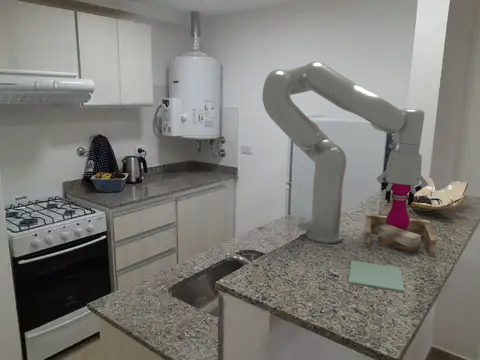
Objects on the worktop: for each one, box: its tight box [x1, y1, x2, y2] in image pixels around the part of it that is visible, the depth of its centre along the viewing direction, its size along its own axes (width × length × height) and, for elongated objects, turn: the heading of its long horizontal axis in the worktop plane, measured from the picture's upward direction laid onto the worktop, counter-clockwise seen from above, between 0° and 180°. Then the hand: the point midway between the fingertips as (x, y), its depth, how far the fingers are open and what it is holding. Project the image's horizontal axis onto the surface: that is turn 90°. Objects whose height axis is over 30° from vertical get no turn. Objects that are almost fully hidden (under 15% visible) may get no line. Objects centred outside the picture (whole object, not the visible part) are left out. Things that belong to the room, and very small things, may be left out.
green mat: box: [348, 260, 405, 293], centre depth 98 cm, size 13×13×1 cm
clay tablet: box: [378, 202, 419, 220], centre depth 147 cm, size 14×5×20 cm
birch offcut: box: [377, 224, 422, 248], centre depth 116 cm, size 12×4×3 cm, turn 35°
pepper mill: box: [386, 184, 411, 231], centre depth 121 cm, size 7×7×20 cm
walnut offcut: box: [377, 235, 421, 253], centre depth 118 cm, size 12×4×3 cm, turn 60°
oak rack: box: [364, 213, 437, 257], centre depth 121 cm, size 20×16×6 cm
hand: (398, 202), depth 121 cm, fingers closed on pepper mill, 5 cm apart
